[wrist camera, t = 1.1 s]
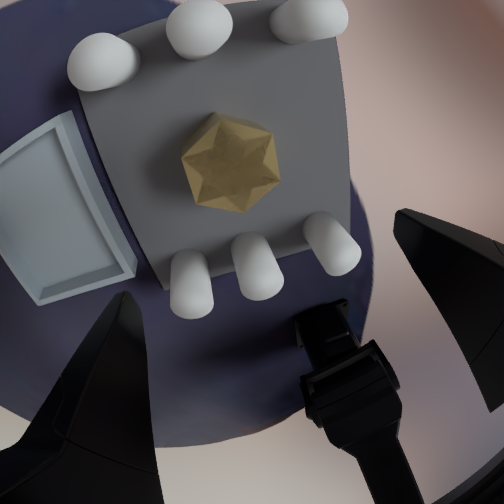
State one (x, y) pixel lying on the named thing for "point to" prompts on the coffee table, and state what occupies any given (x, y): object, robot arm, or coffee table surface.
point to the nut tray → (58, 216)
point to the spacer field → (235, 104)
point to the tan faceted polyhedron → (230, 162)
